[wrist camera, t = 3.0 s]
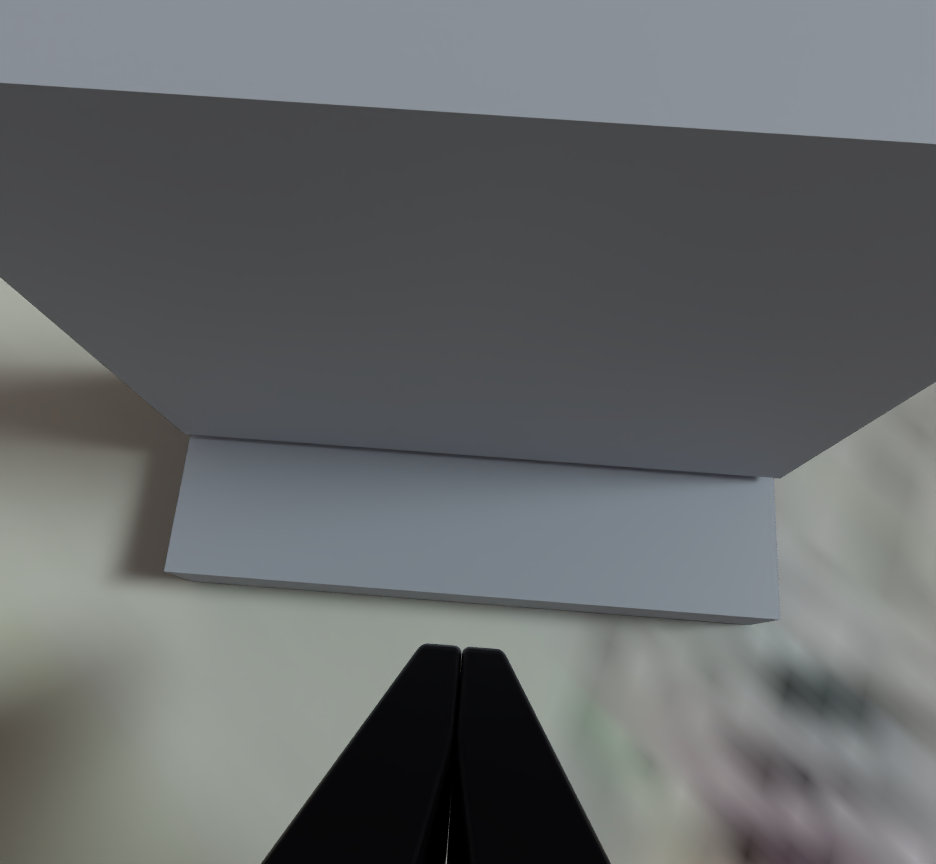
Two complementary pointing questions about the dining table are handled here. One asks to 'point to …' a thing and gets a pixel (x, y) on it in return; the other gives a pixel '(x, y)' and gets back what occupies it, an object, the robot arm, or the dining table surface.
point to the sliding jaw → (485, 218)
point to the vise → (477, 530)
